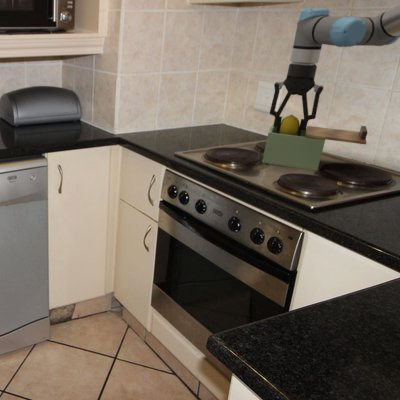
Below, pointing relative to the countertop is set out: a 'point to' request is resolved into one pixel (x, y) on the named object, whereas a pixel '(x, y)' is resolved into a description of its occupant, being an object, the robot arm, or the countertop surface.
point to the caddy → (293, 150)
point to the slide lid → (337, 134)
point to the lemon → (289, 125)
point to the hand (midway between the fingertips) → (287, 138)
